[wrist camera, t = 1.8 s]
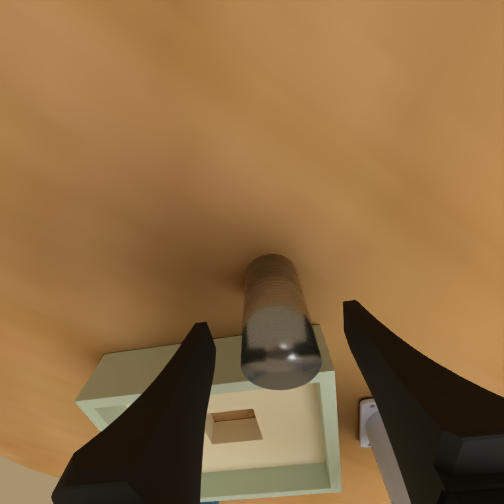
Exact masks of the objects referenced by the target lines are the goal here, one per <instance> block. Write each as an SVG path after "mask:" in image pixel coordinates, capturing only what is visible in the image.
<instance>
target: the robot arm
mask: <svg viewBox="0 0 504 504" xmlns="http://www.w3.org/2000/svg"><path fill="white" fill-rule="evenodd" d="M343 314H344V332H345V335H346V338H347V341H348V344H349V347H350V350H351V352H352V354H353V356H354V358H355V360H356V362H357V364H358V367H359V369H360V371H361V373H362V375H363V377H364V379H365V381H366V383H367V385H368V387H369V389H370V391H371V394H372V396H373V398H374V399H366V400H362V401H361V402H360V430H359V442H360V445H361V446H362V447H371V448H372V450H373V453H374V456H375V459H376V461H377V464H378V467H379V470H380V473H381V475H382V478H383V481H384V484H385V487H386V489H387V492H388V495H389V498H390V500H391V503H392V504H504V397H501V396H499V395H497V394H495V393H493V392H490V391H488V390H486V389H484V388H482V387H480V386H478V385H476V384H474V383H472V382H470V381H468V380H466V379H464V378H462V377H461V376H459V375H457V374H455V373H453V372H452V371H450V370H448V369H446V368H445V367H443V366H441V365H439V364H438V363H436V362H434V361H433V360H431V359H429V358H428V357H426V356H425V355H423V354H422V353H420V352H419V351H417V350H416V349H414V348H413V347H412V346H410V345H409V344H407V343H406V342H405V341H403V340H402V339H401V338H399V337H398V336H397V335H395V334H394V333H393V332H392V331H390V330H389V329H388V328H387V327H386V326H384V325H383V324H382V323H381V322H380V321H378V320H377V319H376V318H375V317H374V316H373V315H372V314H370V313H369V312H368V311H367V310H366V309H365V308H364V307H363V306H362V305H361V304H360V303H359V302H358V301H356V300H352V301H345V302H343ZM215 362H216V346H215V344H214V341H213V338H212V336H211V333H210V330H209V328H208V325H207V322H201V323H195V325H194V326H193V327H192V329H191V330H190V332H189V333H188V335H187V336H186V338H185V339H184V341H183V342H182V344H181V345H180V347H179V348H178V350H177V351H176V352H175V354H174V355H173V357H172V358H171V359H170V361H169V362H168V363H167V365H166V366H165V367H164V369H163V370H162V371H161V372H160V374H159V375H158V376H157V377H156V379H155V380H154V381H153V382H152V383H151V384H150V385H149V387H148V388H147V389H146V390H145V391H144V392H143V393H142V394H141V395H140V396H139V397H138V398H137V399H136V400H135V401H134V402H133V403H132V404H131V405H130V406H129V407H128V408H127V409H126V410H125V411H124V412H123V413H122V414H121V415H120V416H119V417H118V418H116V419H115V420H114V421H113V422H112V423H111V424H110V425H108V426H107V427H106V428H105V429H104V430H103V431H101V432H100V433H99V434H98V435H97V436H95V437H94V438H93V439H91V440H90V441H89V442H88V443H86V444H85V445H84V446H83V447H81V448H80V449H79V450H77V451H76V452H75V453H74V454H73V456H72V458H71V459H70V461H69V463H68V465H67V467H66V469H65V471H64V472H63V474H62V476H61V478H60V480H59V482H58V484H57V486H56V487H55V489H54V491H53V493H52V496H51V498H52V501H53V504H200V494H201V475H202V459H203V446H204V434H205V423H206V415H207V409H208V404H209V398H210V393H211V388H212V382H213V377H214V371H215Z"/></svg>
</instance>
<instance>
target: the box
mask: <svg viewBox="0 0 504 504" xmlns="http://www.w3.org/2000/svg"><path fill="white" fill-rule="evenodd" d="M313 330H314V333H315V337H316V340H317V344H318V347H319V351H320V354H321V359H322V365H321V369H320V371H319V373H318V374H317V375H316V377H315V378H314V379H312V380H311V381H310V382H308V383H307V384H305V385H303V386H300V387H297V388H294V389H289V390H270V389H265V388H262V387H259V386H257V385H255V384H253V383H251V382H250V381H249V380H248V379H247V378H246V377H245V376H244V374H243V373H242V370H241V346H242V335H240V336H233V337H226V338H218V339H213V341H214V344H215V346H216V362H215V371H214V377H213V382H212V388H211V393H210V398H209V404H208V409H207V415H206V423H205V434H204V446H203V459H202V475H201V494H200V502H210V501H224V500H238V499H252V498H266V497H279V496H293V495H307V494H321V493H335V492H342V483H341V467H340V450H339V434H338V418H337V401H336V385H335V370H334V367H333V364H332V361H331V358H330V355H329V352H328V348H327V345H326V342H325V339H324V336H323V333H322V330H321V327H320V325H313ZM180 345H181V344H175V345H167V346H160V347H153V348H145V349H138V350H131V351H124V352H116V353H109V354H104V356H103V357H102V359H101V361H100V362H99V364H98V365H97V367H96V368H95V370H94V371H93V373H92V375H91V376H90V378H89V379H88V381H87V382H86V384H85V386H84V387H83V389H82V390H81V392H80V393H79V395H78V397H77V398H76V400H75V401H74V402H75V403H76V404H77V405H78V406H79V407H80V409H81V410H82V411H83V412H84V413H85V414H86V415H87V417H88V418H89V419H90V420H91V421H92V422H93V423H94V425H95V426H96V427H97V428H98V429H99V430H100V431H103V430H104V429H105V428H106V427H107V426H108V425H110V424H111V423H112V422H113V421H114V420H115V419H116V418H118V417H119V416H120V415H121V414H122V413H123V412H124V411H125V410H126V409H127V408H128V407H129V406H130V405H131V404H132V403H133V402H134V401H135V400H136V399H137V398H138V397H139V396H140V395H141V394H142V393H143V392H144V391H145V390H146V389H147V388H148V387H149V385H150V384H151V383H152V382H153V381H154V380H155V379H156V377H157V376H158V375H159V374H160V372H161V371H162V370H163V369H164V367H165V366H166V365H167V363H168V362H169V361H170V359H171V358H172V357H173V355H174V354H175V352H176V351H177V350H178V348H179V347H180ZM245 409H253V410H254V413H255V416H256V418H248V419H239V420H229V421H220V422H215V421H214V419H213V417H212V415H211V413H217V412H227V411H236V410H245Z"/></svg>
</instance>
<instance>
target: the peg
mask: <svg viewBox="0 0 504 504" xmlns="http://www.w3.org/2000/svg"><path fill="white" fill-rule="evenodd" d="M321 365H322V359H321V354H320V351H319V347H318V344H317V340H316V337H315V333H314V330H313V326H312V323H311V319H310V316H309V312H308V309H307V305H306V302H305V298H304V295H303V291H302V288H301V284H300V281H299V277H298V274H297V270H296V268H295V266H294V264H293V263H292V262H291V261H290V260H288V259H287V258H285V257H283V256H280V255H265V256H261V257H259V258H257V259H256V260H254V261H253V262H252V263H251V264H250V265H249V267H248V268H247V271H246V275H245V292H244V310H243V328H242V346H241V370H242V373H243V374H244V376H245V377H246V378H247V379H248V380H249V381H250V382H251V383H253V384H255V385H257V386H259V387H262V388H265V389H270V390H289V389H294V388H297V387H300V386H303V385H305V384H307V383H308V382H310V381H311V380H312V379H314V378H315V377H316V375H317V374H318V373H319V371H320V369H321Z"/></svg>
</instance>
